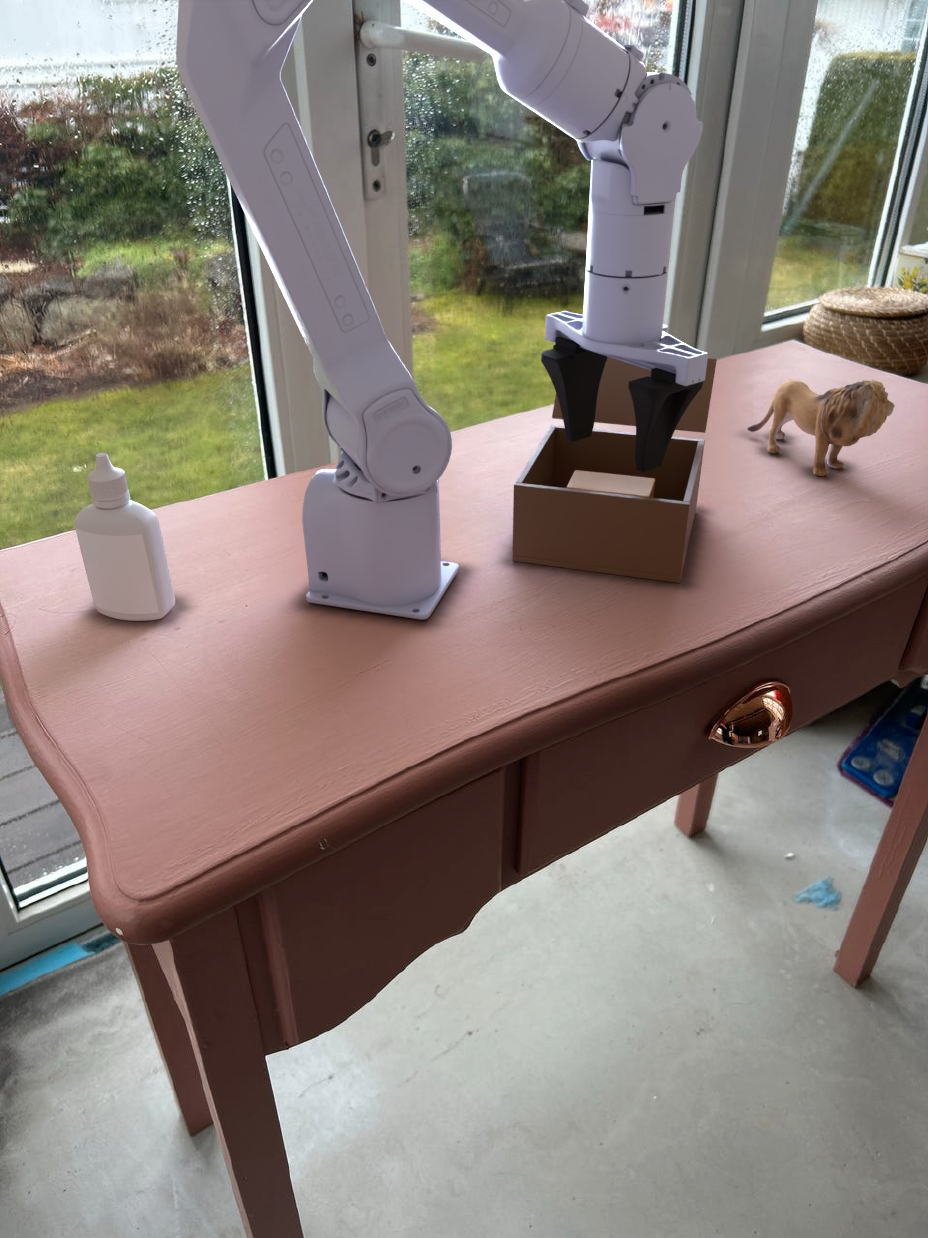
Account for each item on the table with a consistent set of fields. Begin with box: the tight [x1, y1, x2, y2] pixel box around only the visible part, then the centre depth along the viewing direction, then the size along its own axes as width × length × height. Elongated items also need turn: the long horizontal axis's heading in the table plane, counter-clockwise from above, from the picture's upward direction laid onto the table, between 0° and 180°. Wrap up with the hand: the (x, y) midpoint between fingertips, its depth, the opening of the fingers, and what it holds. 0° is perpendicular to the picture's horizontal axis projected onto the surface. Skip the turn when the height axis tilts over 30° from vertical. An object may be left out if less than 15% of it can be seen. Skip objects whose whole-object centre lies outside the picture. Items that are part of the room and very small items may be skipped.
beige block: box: [566, 470, 655, 498], centre depth 76 cm, size 6×4×5 cm, turn 73°
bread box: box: [511, 424, 706, 584], centre depth 77 cm, size 13×13×6 cm
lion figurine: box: [746, 379, 895, 477], centre depth 89 cm, size 15×5×9 cm, turn 33°
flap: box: [551, 357, 718, 434], centre depth 80 cm, size 13×6×1 cm
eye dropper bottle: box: [74, 452, 176, 622], centre depth 66 cm, size 4×6×12 cm
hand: (612, 452), depth 74 cm, fingers open, 7 cm apart
